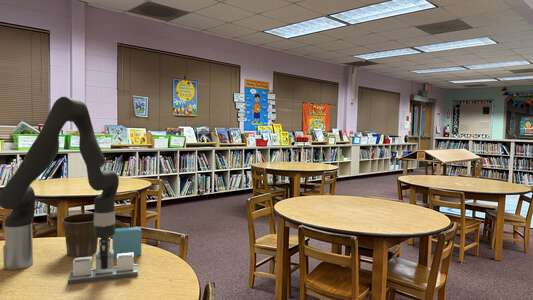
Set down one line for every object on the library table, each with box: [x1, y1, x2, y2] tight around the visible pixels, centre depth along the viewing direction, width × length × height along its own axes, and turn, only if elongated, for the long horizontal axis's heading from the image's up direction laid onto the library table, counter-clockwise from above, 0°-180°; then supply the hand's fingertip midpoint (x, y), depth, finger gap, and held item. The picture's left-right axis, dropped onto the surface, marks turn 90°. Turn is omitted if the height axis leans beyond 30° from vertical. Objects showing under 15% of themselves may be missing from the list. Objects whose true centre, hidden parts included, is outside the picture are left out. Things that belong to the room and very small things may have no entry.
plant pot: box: [61, 213, 99, 258], centre depth 160 cm, size 16×16×16 cm
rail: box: [67, 252, 139, 286], centre depth 136 cm, size 24×8×8 cm, turn 111°
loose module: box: [95, 249, 115, 270], centre depth 136 cm, size 6×5×6 cm
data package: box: [111, 226, 142, 259], centre depth 158 cm, size 12×4×12 cm, turn 112°
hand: (104, 265), depth 136 cm, fingers closed on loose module, 4 cm apart
